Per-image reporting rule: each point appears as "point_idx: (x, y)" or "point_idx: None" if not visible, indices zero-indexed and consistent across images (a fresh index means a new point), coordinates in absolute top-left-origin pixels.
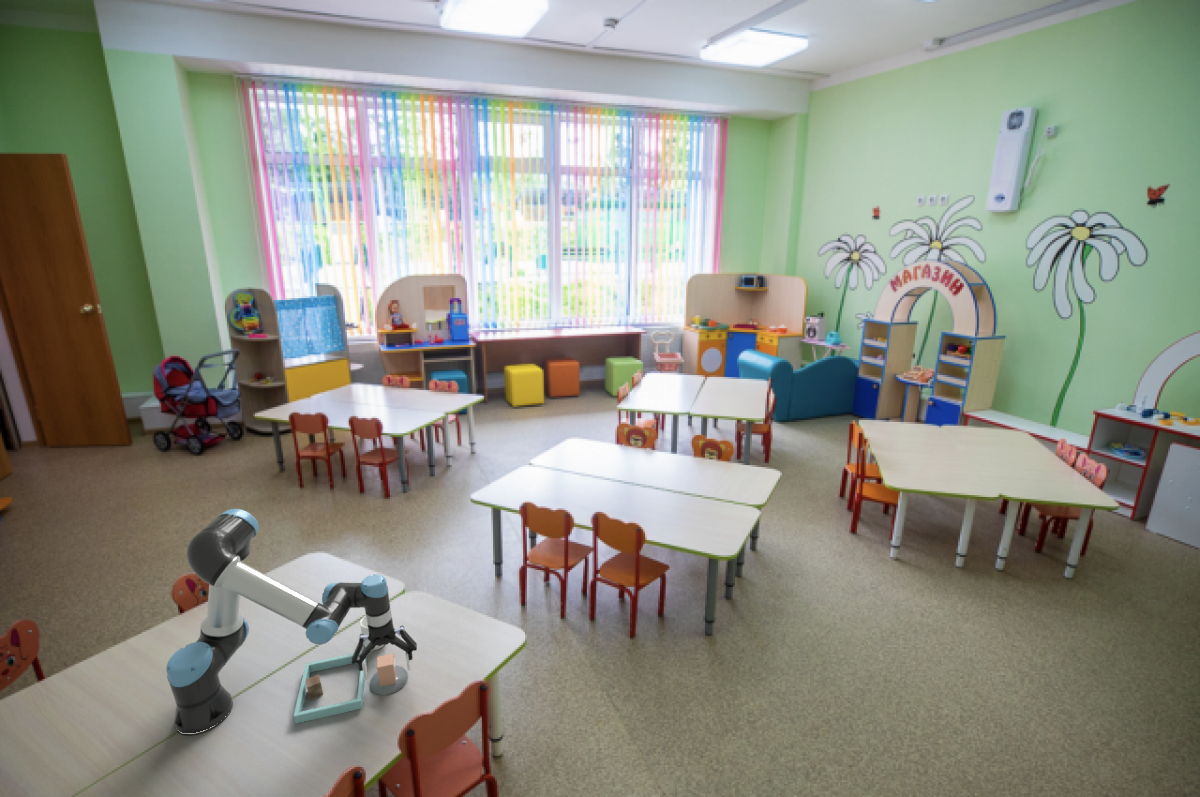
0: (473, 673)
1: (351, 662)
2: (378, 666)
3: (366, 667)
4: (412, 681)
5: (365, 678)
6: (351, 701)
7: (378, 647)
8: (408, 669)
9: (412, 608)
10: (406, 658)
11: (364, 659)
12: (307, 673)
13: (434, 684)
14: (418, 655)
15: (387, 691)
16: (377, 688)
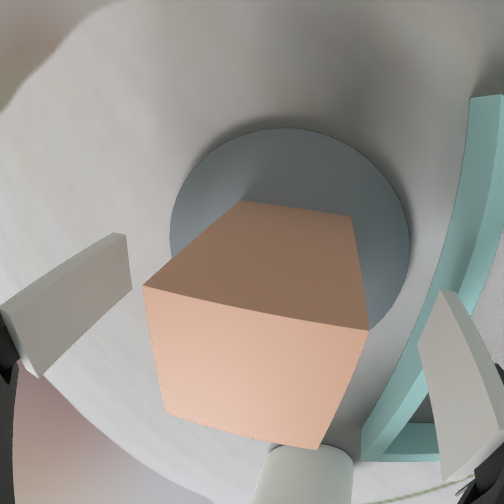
0: None
1: (425, 426)
2: (342, 343)
3: (430, 385)
4: (149, 183)
5: (452, 296)
6: None
7: (305, 449)
8: (118, 236)
9: (191, 481)
10: (40, 289)
11: (459, 470)
12: None
13: (63, 125)
14: (139, 341)
15: (303, 146)
16: (369, 209)
